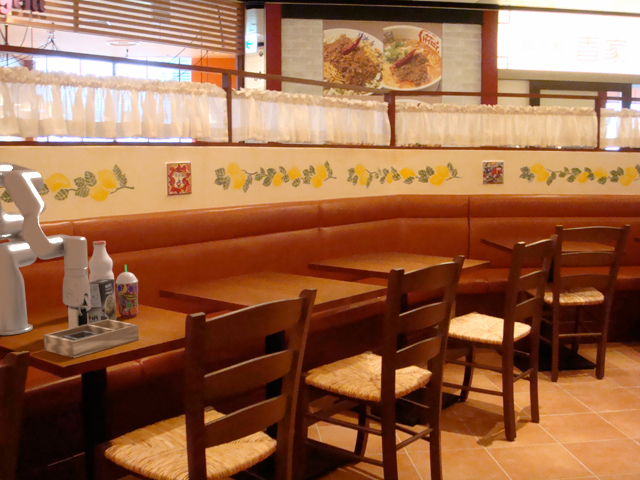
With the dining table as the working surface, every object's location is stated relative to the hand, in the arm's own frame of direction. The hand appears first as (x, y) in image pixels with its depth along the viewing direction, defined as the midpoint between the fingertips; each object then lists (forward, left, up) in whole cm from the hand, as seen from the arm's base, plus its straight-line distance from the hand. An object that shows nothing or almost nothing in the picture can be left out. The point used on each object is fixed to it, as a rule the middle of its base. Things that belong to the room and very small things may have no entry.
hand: (78, 324), depth 228 cm
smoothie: (-7, +26, -4) cm, 28 cm away
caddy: (+16, -6, -4) cm, 17 cm away
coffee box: (-5, +13, -4) cm, 15 cm away
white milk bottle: (-24, +27, -4) cm, 37 cm away
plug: (0, 0, -2) cm, 2 cm away
